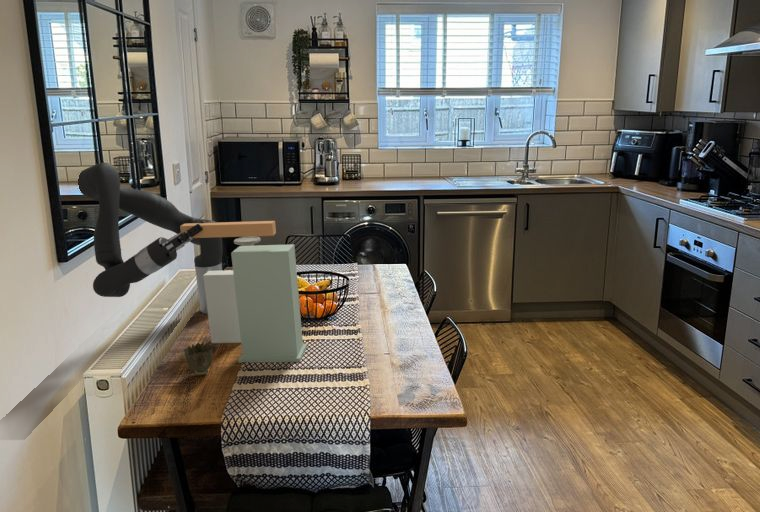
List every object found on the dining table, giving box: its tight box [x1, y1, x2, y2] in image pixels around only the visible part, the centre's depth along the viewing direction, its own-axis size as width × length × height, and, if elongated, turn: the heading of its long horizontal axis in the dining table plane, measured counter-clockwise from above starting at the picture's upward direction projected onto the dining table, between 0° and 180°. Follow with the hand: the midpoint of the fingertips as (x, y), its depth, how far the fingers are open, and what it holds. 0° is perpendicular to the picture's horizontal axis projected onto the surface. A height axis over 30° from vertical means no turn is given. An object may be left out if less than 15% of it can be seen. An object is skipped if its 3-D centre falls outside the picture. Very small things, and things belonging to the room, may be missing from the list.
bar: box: [180, 220, 277, 238], centre depth 172 cm, size 4×26×4 cm, turn 86°
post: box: [203, 269, 241, 344], centre depth 191 cm, size 5×10×22 cm, turn 86°
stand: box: [230, 243, 308, 364], centre depth 177 cm, size 11×18×32 cm, turn 86°
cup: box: [183, 342, 213, 377], centre depth 169 cm, size 8×7×8 cm
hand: (203, 225), depth 173 cm, fingers closed on bar, 3 cm apart
